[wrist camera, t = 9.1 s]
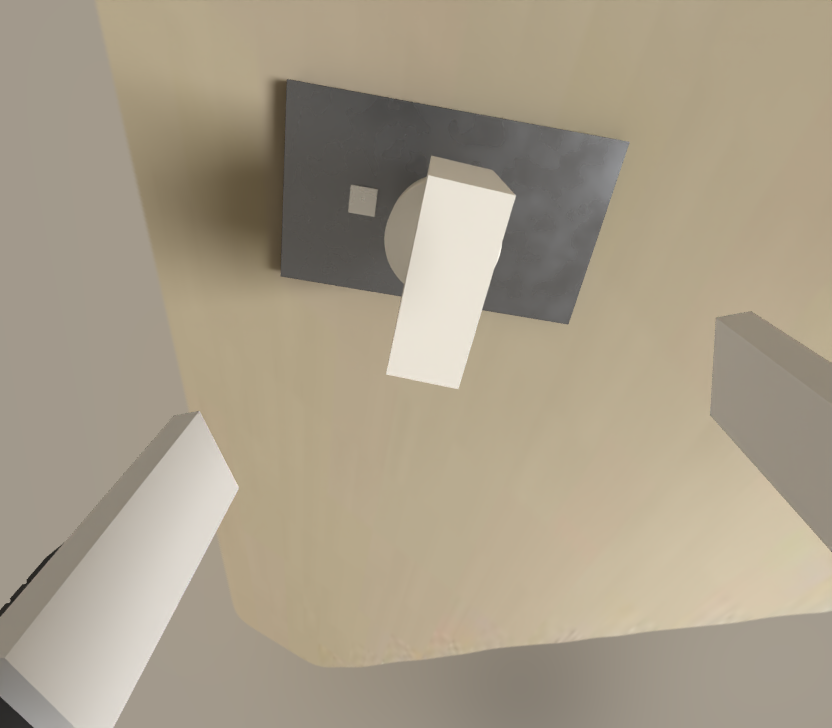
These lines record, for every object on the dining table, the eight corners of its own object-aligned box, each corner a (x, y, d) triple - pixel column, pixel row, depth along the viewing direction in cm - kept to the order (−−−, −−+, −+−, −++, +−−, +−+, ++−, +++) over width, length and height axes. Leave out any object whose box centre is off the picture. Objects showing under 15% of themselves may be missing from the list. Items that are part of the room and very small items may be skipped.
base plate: (292, 80, 34) (260, 73, 28) (622, 140, 35) (662, 147, 29) (285, 270, 41) (258, 299, 34) (564, 317, 42) (586, 353, 35)
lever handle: (403, 144, 29) (383, 164, 19) (515, 171, 30) (558, 205, 19) (375, 298, 34) (346, 384, 23) (472, 319, 34) (488, 413, 24)
